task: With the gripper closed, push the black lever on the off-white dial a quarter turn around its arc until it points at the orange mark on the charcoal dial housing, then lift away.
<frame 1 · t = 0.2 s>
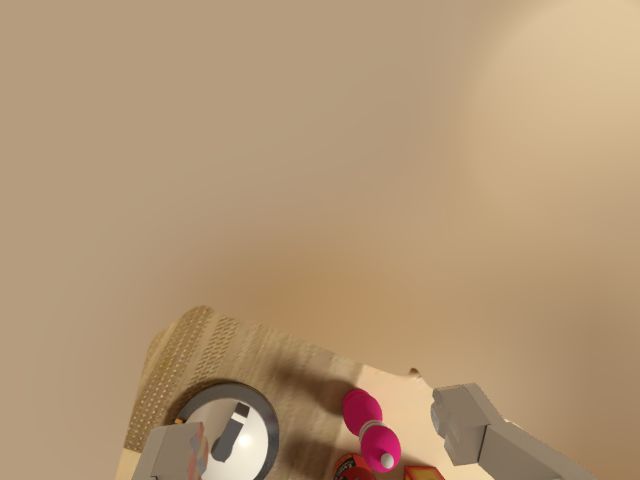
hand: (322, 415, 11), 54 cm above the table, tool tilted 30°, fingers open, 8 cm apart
pepper mill: (357, 404, 63), on the table
dial: (221, 451, 55), point 5 cm above the table, hinge at 0.0°
dial housing: (226, 436, 60), on the table
canned food: (351, 472, 62), on the table
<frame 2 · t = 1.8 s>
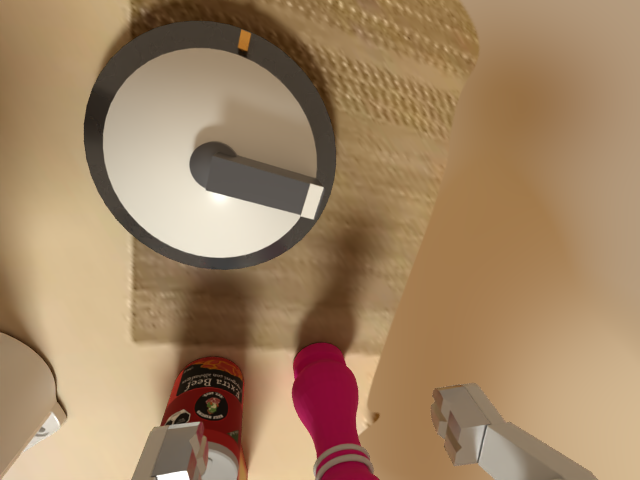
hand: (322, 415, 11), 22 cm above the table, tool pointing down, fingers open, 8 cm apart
pepper mill: (318, 361, 39), on the table
dial: (214, 167, 23), point 5 cm above the table, hinge at 0.0°
dial housing: (222, 159, 28), on the table
canned food: (211, 380, 37), on the table
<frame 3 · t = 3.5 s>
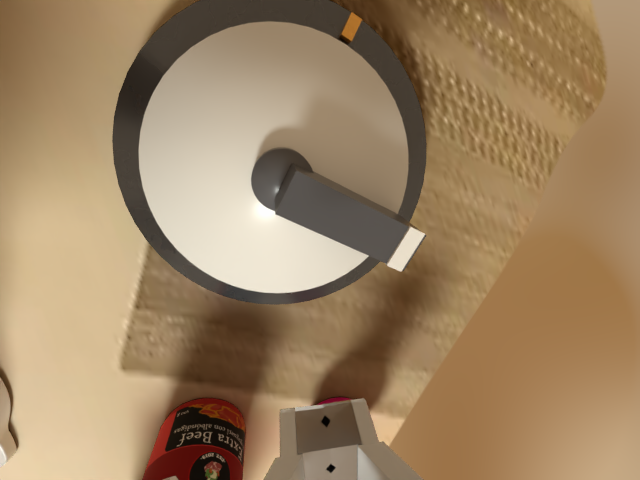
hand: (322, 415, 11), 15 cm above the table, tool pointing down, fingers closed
dial: (283, 182, 18), point 5 cm above the table, hinge at 0.0°
dial housing: (280, 168, 22), on the table
canned food: (205, 424, 30), on the table
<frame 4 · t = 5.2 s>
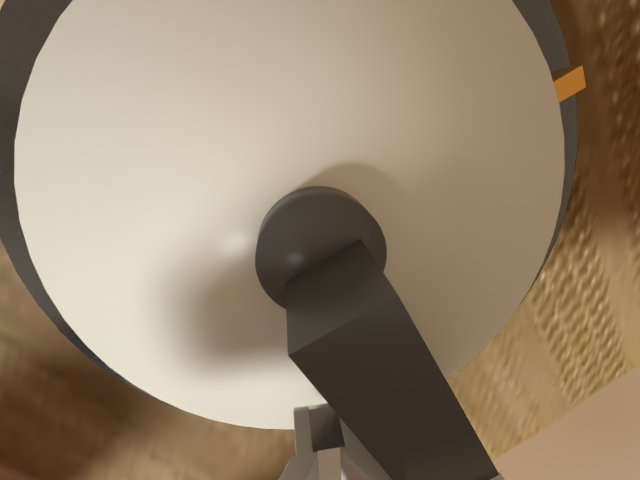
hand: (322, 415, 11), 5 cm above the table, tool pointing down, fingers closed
dial: (323, 263, 8), point 5 cm above the table, hinge at 0.7°, touching gripper
dial housing: (307, 209, 13), on the table
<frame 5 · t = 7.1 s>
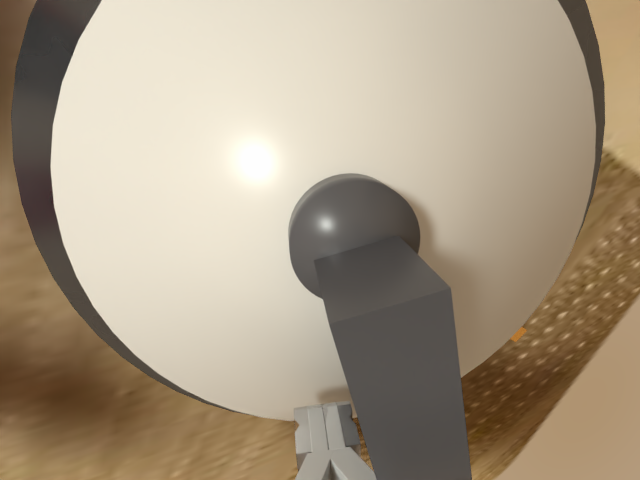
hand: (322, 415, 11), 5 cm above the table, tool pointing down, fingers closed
dial: (357, 249, 8), point 5 cm above the table, hinge at 49.3°, touching gripper
dial housing: (329, 201, 13), on the table
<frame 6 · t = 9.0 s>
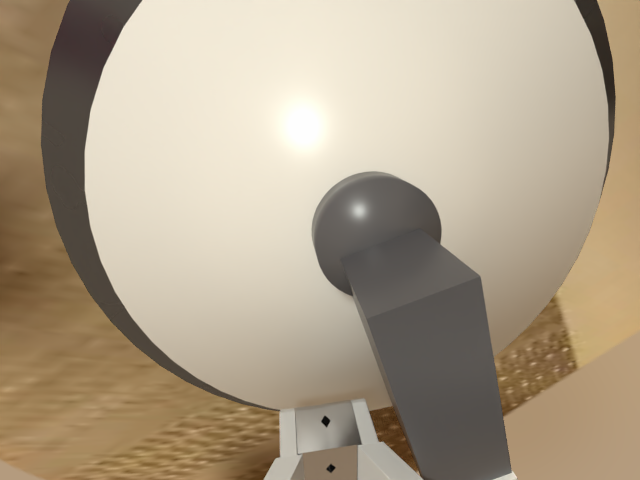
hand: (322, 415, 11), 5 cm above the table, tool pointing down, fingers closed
dial: (381, 245, 9), point 5 cm above the table, hinge at 86.5°
dial housing: (344, 199, 13), on the table
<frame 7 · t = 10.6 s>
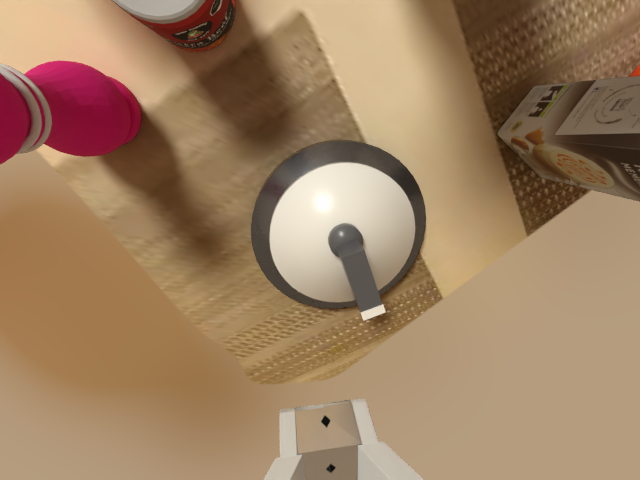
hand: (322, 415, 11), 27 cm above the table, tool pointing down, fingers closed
pepper mill: (107, 111, 30), on the table
dial: (346, 243, 33), point 5 cm above the table, hinge at 86.5°
coffee box: (536, 134, 37), on the table
dial housing: (337, 227, 37), on the table
clementine: (634, 80, 36), on the table
canned food: (192, 2, 28), on the table
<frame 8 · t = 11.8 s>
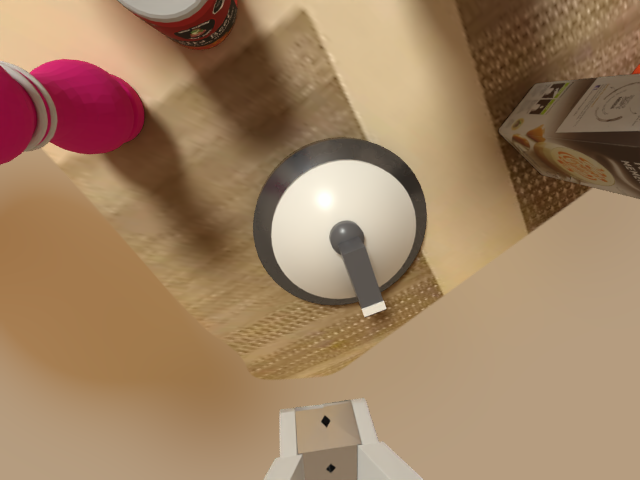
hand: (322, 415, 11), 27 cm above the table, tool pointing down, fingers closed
pepper mill: (111, 109, 30), on the table
dial: (348, 240, 33), point 5 cm above the table, hinge at 86.5°
coffee box: (537, 132, 37), on the table
dial housing: (339, 224, 38), on the table
clementine: (636, 77, 36), on the table
canned food: (195, 0, 28), on the table
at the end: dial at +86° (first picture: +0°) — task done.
